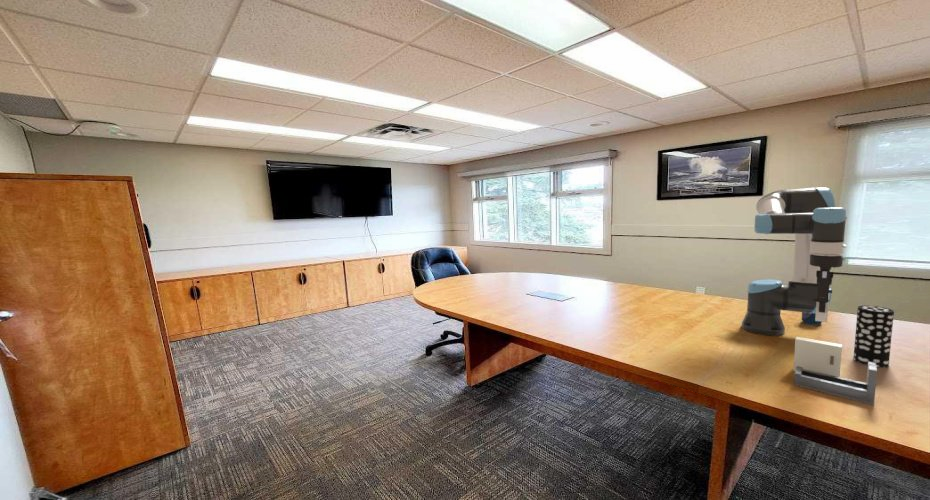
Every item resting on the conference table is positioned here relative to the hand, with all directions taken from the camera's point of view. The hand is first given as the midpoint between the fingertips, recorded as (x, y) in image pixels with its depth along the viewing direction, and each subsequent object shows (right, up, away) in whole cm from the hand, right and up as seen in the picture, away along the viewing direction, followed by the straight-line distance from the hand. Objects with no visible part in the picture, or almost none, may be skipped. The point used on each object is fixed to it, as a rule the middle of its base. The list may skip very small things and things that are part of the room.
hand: (821, 316), depth 116 cm
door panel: (+1, -21, +3) cm, 21 cm away
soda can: (+45, -13, +47) cm, 66 cm away
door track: (-4, -22, -7) cm, 24 cm away
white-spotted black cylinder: (+27, -19, +9) cm, 34 cm away
